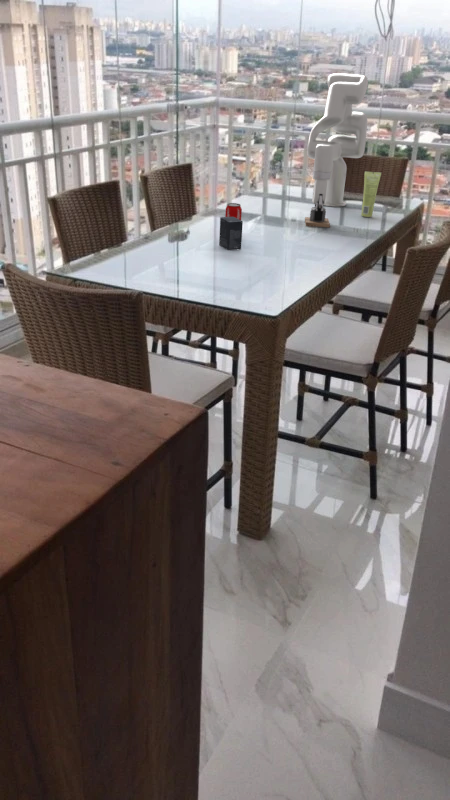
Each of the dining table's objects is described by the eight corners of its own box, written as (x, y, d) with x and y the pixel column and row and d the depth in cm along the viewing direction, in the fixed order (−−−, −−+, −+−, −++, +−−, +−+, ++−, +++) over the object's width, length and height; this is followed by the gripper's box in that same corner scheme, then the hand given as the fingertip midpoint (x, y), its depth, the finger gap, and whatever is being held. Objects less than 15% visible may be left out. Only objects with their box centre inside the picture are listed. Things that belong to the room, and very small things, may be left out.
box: (241, 249, 259) (243, 220, 254) (227, 250, 257) (229, 221, 252) (232, 244, 265) (233, 216, 261) (218, 245, 263) (219, 216, 258)
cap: (309, 221, 298) (310, 209, 296) (311, 218, 303) (312, 206, 301) (323, 222, 297) (324, 210, 295) (325, 219, 302) (326, 207, 300)
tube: (366, 214, 322) (372, 170, 313) (375, 216, 319) (381, 172, 310) (358, 215, 319) (364, 171, 310) (367, 218, 316) (373, 173, 307)
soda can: (242, 234, 279) (244, 204, 273) (236, 238, 273) (238, 207, 268) (228, 232, 281) (230, 202, 275) (221, 235, 276) (223, 204, 270)
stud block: (304, 220, 305) (305, 208, 303) (327, 221, 305) (329, 210, 303) (305, 226, 297) (306, 213, 294) (329, 227, 296) (330, 215, 294)
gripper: (311, 171, 299) (307, 213, 308) (314, 178, 284) (309, 222, 292) (329, 172, 299) (324, 214, 307) (332, 179, 284) (327, 223, 292)
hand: (317, 218), depth 300 cm, fingers closed on cap, 6 cm apart
